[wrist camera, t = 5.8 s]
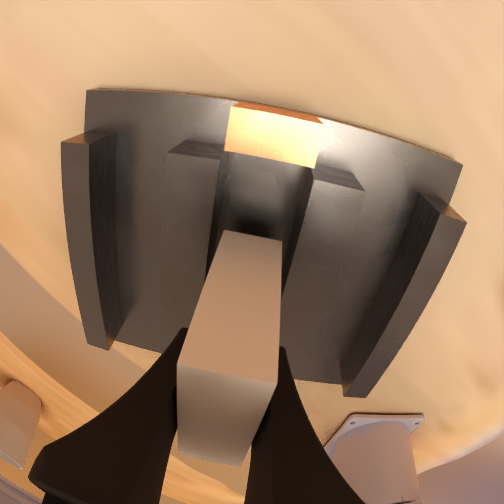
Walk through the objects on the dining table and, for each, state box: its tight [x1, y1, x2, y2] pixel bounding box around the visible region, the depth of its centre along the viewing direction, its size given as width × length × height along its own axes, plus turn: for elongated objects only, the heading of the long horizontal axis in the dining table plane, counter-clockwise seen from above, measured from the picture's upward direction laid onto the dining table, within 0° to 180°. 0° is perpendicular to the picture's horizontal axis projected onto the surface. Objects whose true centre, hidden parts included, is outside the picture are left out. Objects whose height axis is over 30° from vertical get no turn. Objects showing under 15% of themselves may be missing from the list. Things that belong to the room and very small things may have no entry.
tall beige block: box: [177, 230, 282, 466], centre depth 12 cm, size 6×2×7 cm, turn 170°
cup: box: [0, 380, 42, 469], centre depth 26 cm, size 8×8×10 cm
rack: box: [61, 88, 467, 398], centre depth 16 cm, size 16×18×4 cm
